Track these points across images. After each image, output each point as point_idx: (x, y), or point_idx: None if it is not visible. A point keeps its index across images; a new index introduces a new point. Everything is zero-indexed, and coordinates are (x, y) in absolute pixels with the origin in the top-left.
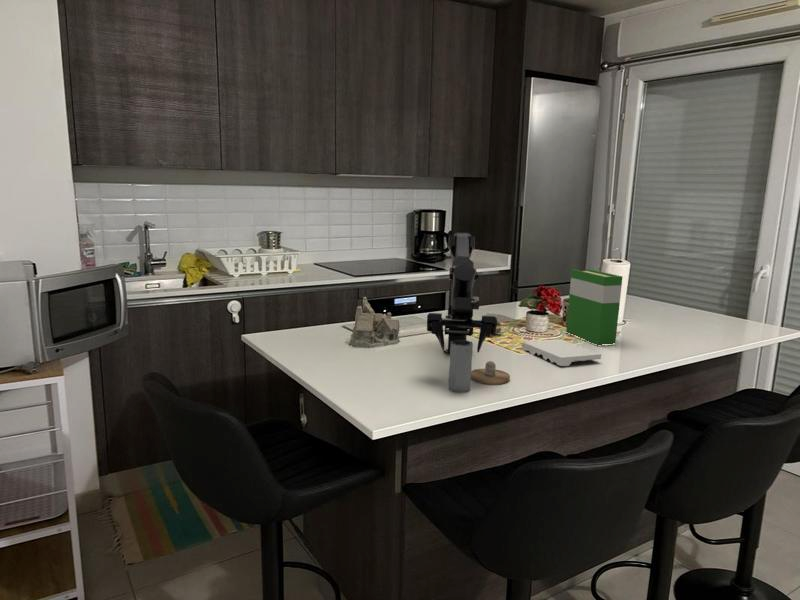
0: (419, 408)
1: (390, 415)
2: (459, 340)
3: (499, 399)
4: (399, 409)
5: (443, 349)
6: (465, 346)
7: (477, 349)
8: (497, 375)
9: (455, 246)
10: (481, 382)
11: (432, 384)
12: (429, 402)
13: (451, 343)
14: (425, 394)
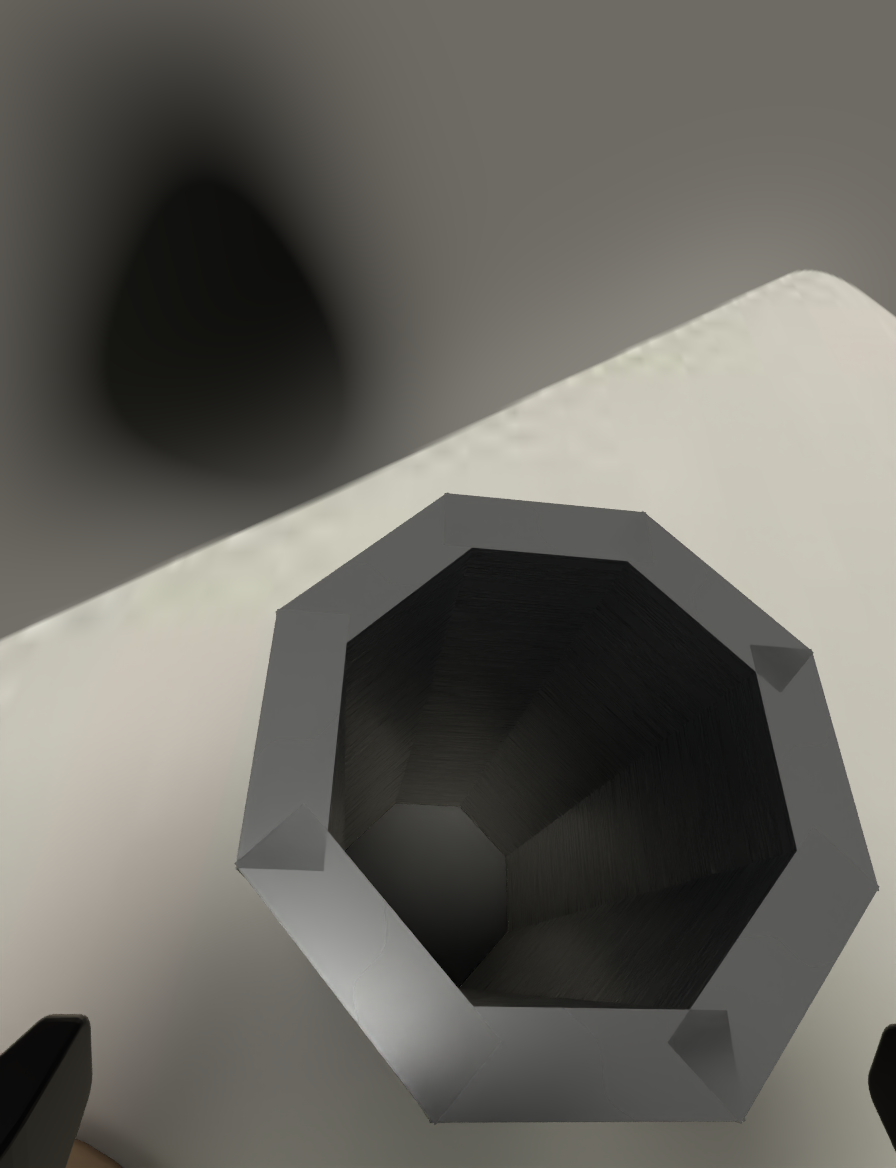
0: (691, 457)
1: (812, 377)
2: (647, 1020)
3: (81, 637)
4: (796, 442)
5: (891, 1031)
6: (466, 507)
7: (62, 1122)
8: None
9: None
10: (112, 1162)
11: None
12: None
13: (796, 643)
14: None
